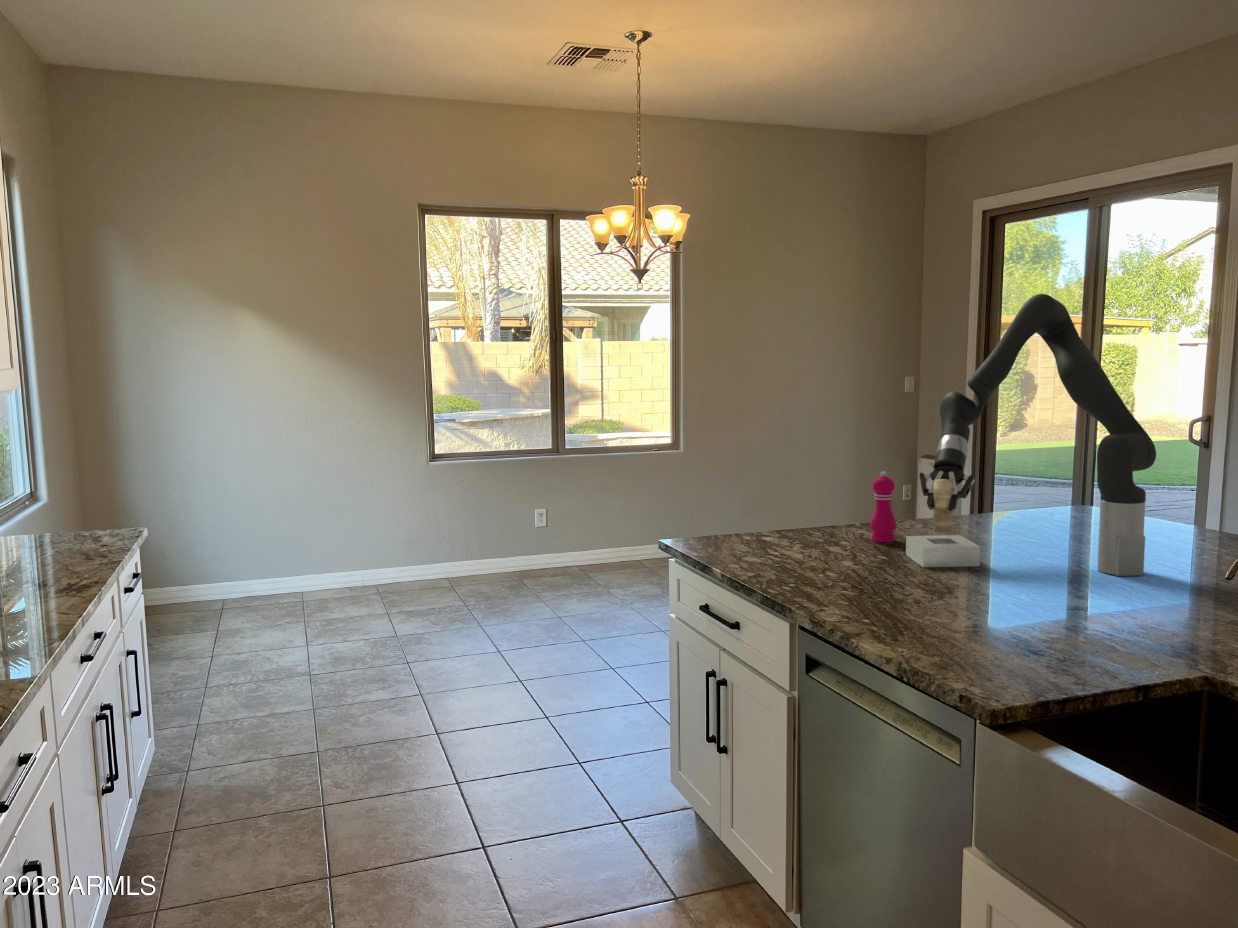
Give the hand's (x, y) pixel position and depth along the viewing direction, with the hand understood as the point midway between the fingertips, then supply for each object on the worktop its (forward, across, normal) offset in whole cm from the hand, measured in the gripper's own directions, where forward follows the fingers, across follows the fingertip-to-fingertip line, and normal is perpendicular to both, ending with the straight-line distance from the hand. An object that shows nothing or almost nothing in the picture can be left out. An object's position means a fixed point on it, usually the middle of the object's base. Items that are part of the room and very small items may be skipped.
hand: (940, 508), depth 218 cm
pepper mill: (-4, -19, +24) cm, 31 cm away
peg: (+3, 0, +6) cm, 6 cm away
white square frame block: (+9, 0, +11) cm, 14 cm away
